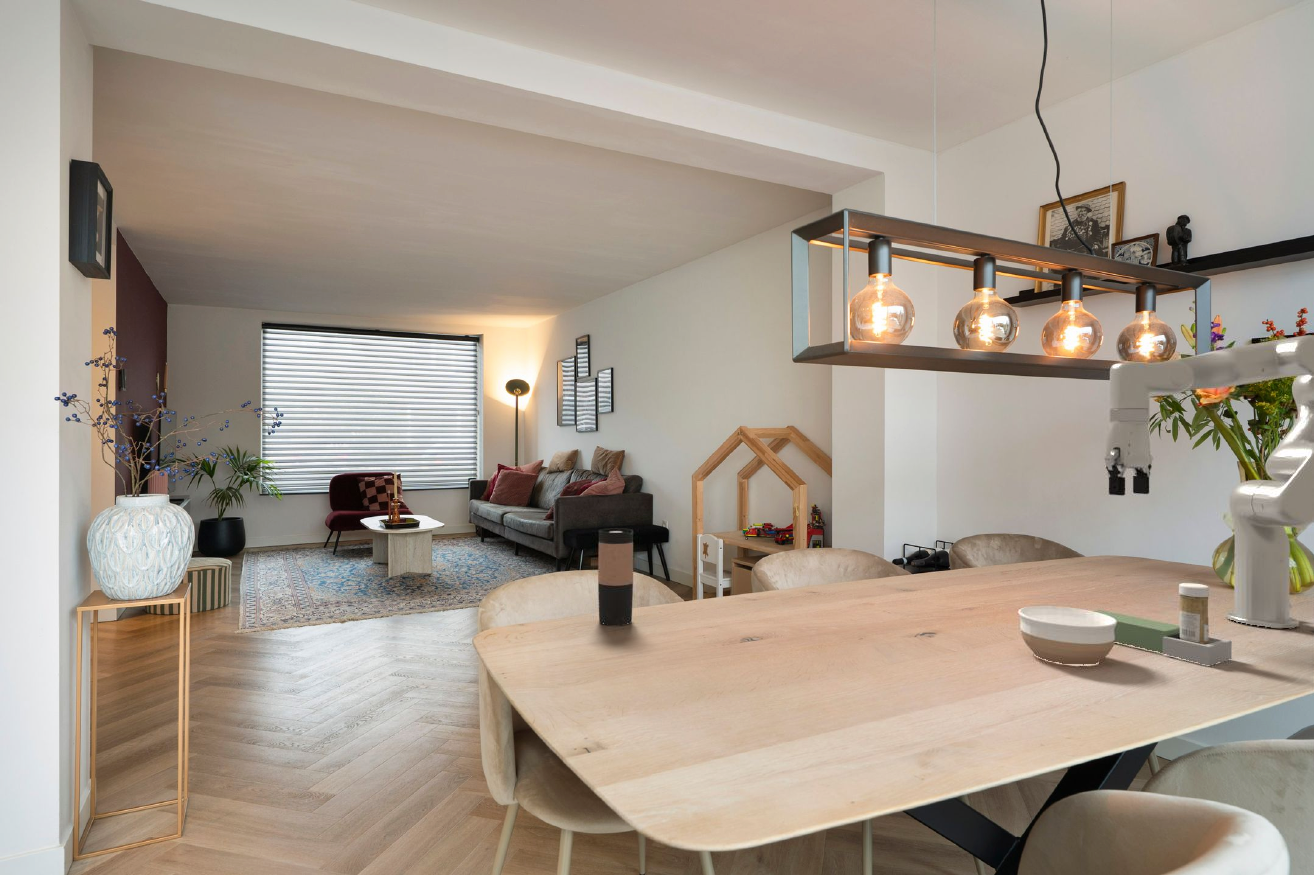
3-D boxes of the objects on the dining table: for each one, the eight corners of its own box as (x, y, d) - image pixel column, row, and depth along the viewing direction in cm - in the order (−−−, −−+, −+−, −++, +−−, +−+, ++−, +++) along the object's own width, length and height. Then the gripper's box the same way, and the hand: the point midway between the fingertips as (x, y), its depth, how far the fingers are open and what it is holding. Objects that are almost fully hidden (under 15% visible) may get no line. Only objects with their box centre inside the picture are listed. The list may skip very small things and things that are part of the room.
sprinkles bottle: (1215, 660, 136) (1215, 586, 136) (1193, 661, 135) (1193, 587, 135) (1194, 653, 140) (1194, 582, 140) (1172, 653, 140) (1172, 582, 140)
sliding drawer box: (1101, 630, 156) (1101, 609, 156) (1231, 659, 136) (1231, 635, 136) (1077, 635, 152) (1078, 614, 152) (1208, 666, 132) (1208, 641, 132)
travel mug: (592, 619, 164) (593, 529, 164) (624, 616, 167) (625, 527, 167) (605, 627, 157) (605, 533, 157) (638, 624, 160) (638, 531, 160)
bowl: (1132, 674, 127) (1132, 628, 127) (1032, 668, 130) (1032, 623, 131) (1097, 649, 143) (1097, 608, 143) (1008, 644, 146) (1008, 603, 146)
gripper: (1132, 418, 173) (1132, 492, 173) (1090, 417, 164) (1089, 494, 164) (1168, 418, 166) (1167, 494, 166) (1125, 416, 158) (1125, 496, 158)
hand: (1129, 494), depth 165 cm, fingers open, 9 cm apart
